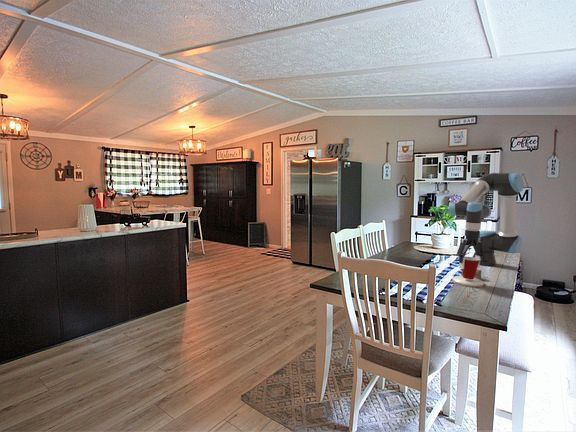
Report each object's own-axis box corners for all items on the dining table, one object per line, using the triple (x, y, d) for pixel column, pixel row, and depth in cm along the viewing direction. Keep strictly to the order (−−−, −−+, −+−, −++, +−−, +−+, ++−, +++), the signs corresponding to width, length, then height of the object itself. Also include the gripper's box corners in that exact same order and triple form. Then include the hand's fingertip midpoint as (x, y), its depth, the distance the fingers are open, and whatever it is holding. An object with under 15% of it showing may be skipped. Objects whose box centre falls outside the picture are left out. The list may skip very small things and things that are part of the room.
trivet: (466, 277, 207) (467, 275, 207) (490, 285, 192) (490, 283, 192) (446, 279, 202) (446, 277, 202) (468, 288, 187) (468, 285, 187)
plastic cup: (477, 276, 200) (478, 256, 199) (480, 281, 190) (482, 260, 188) (456, 274, 204) (458, 254, 202) (459, 279, 194) (460, 258, 192)
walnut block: (472, 276, 210) (472, 268, 210) (480, 278, 206) (481, 270, 206) (468, 277, 207) (469, 269, 206) (477, 279, 203) (478, 271, 203)
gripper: (482, 228, 201) (478, 264, 203) (451, 229, 193) (448, 267, 196) (493, 230, 194) (489, 267, 196) (462, 231, 186) (458, 271, 189)
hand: (469, 267), depth 196 cm, fingers closed on plastic cup, 11 cm apart
